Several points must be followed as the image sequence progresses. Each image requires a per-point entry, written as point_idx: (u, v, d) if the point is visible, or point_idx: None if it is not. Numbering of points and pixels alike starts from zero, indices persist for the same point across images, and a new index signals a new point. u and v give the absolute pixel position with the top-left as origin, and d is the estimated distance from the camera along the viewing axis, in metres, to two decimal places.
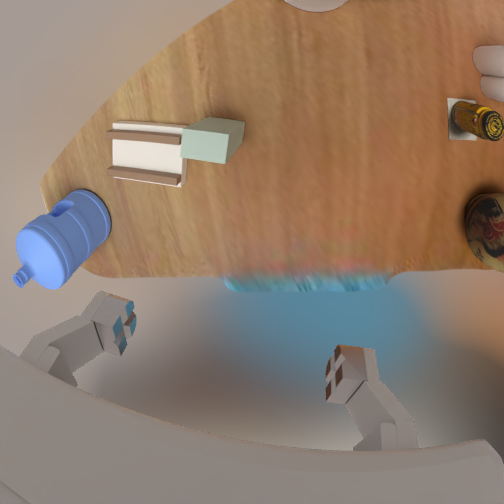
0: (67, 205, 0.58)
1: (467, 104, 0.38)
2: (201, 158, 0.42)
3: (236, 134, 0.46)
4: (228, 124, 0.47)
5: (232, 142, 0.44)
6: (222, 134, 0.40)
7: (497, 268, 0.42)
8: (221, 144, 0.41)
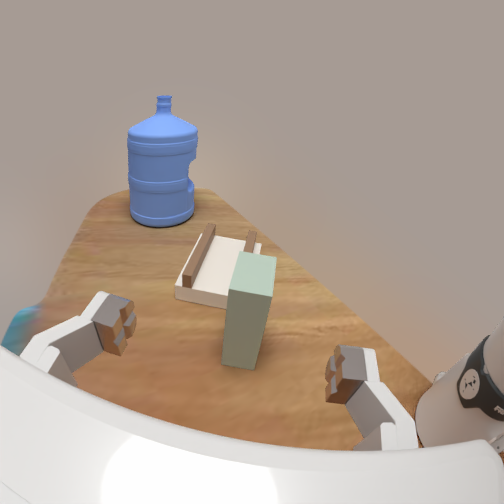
0: (188, 187, 0.66)
1: None
2: (237, 268, 0.33)
3: (253, 334, 0.34)
4: None
5: (248, 318, 0.32)
6: (271, 290, 0.31)
7: None
8: (256, 288, 0.31)
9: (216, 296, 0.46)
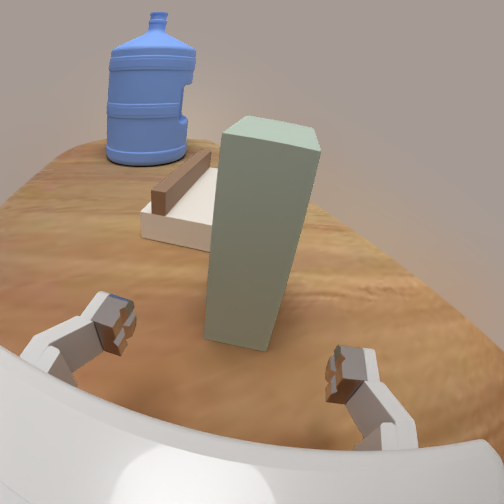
0: (180, 120, 0.49)
1: None
2: (242, 122, 0.16)
3: (270, 261, 0.16)
4: None
5: (263, 215, 0.15)
6: (316, 147, 0.13)
7: None
8: (284, 139, 0.13)
9: (203, 230, 0.28)
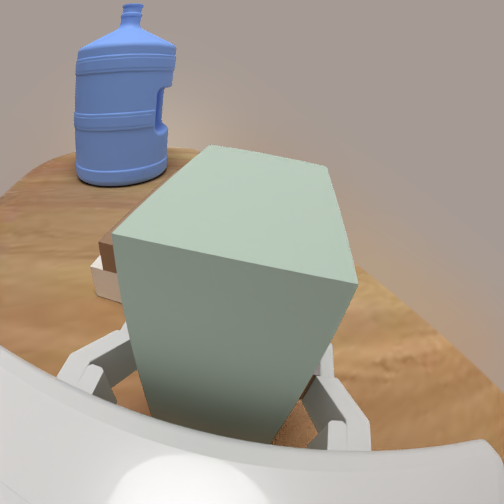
0: (158, 130, 0.41)
1: None
2: (188, 172, 0.08)
3: (245, 424, 0.08)
4: None
5: (225, 380, 0.07)
6: (344, 255, 0.06)
7: None
8: (266, 239, 0.06)
9: None
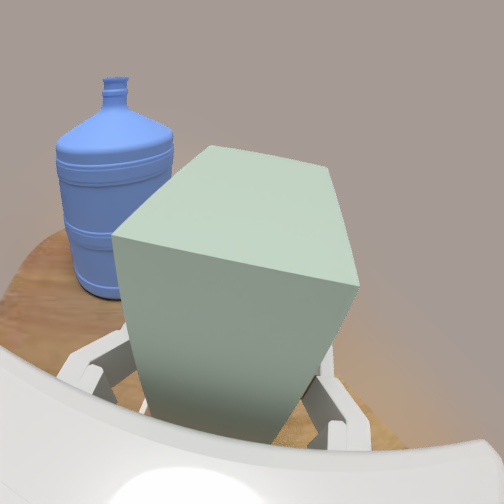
0: None
1: None
2: (188, 172, 0.08)
3: (245, 425, 0.08)
4: None
5: (225, 381, 0.07)
6: (345, 257, 0.06)
7: None
8: (267, 241, 0.06)
9: None
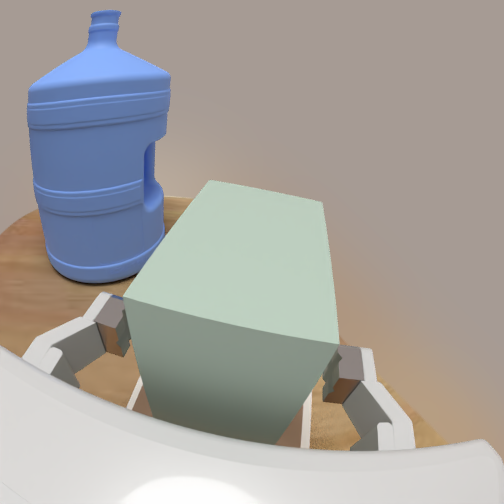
0: (149, 201, 0.31)
1: None
2: (188, 218, 0.09)
3: None
4: None
5: (225, 408, 0.08)
6: (330, 313, 0.06)
7: None
8: (260, 301, 0.06)
9: None
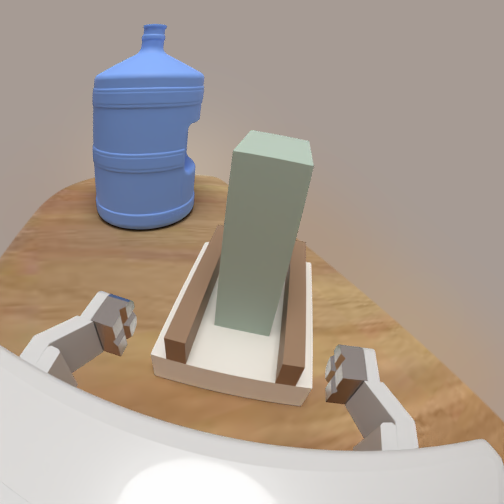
0: (186, 168, 0.41)
1: None
2: (248, 138, 0.19)
3: (272, 256, 0.19)
4: None
5: (266, 218, 0.18)
6: (310, 162, 0.16)
7: None
8: (283, 156, 0.16)
9: (238, 381, 0.20)
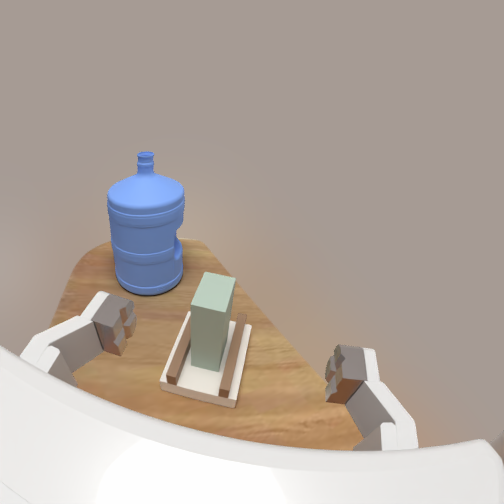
0: (176, 252, 0.62)
1: None
2: (200, 286, 0.40)
3: (213, 341, 0.40)
4: (223, 341, 0.43)
5: (208, 328, 0.39)
6: (225, 307, 0.37)
7: None
8: (213, 304, 0.37)
9: (201, 394, 0.41)
